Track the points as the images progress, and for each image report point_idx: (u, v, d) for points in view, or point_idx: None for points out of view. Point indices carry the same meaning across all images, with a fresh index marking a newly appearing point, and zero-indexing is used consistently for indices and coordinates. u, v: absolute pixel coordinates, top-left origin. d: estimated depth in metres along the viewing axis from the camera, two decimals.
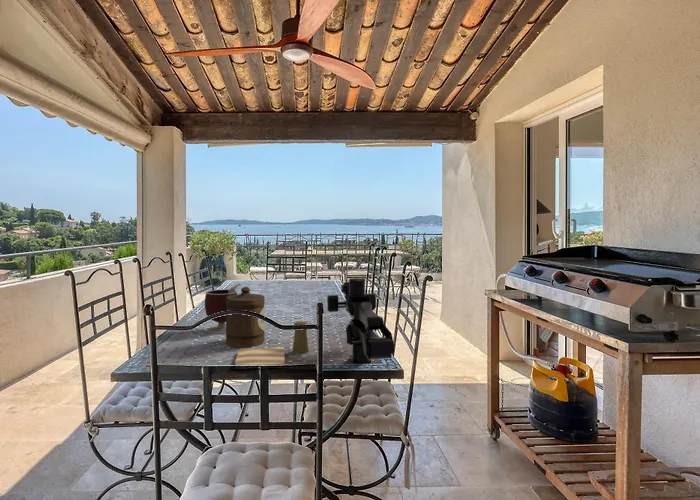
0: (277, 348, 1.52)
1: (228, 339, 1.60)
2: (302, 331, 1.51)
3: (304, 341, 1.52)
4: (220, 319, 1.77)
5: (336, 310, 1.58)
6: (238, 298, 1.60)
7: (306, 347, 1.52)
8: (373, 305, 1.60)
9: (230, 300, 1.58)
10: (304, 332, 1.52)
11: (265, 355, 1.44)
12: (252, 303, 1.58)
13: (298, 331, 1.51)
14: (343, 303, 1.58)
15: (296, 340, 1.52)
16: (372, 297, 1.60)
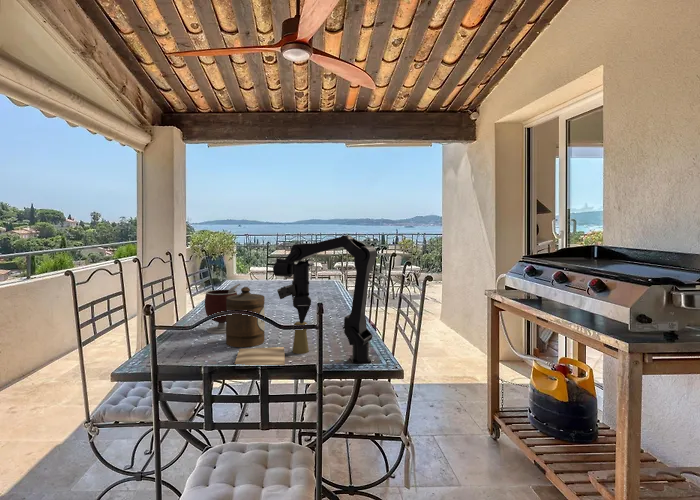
0: (277, 348, 1.52)
1: (228, 339, 1.60)
2: (302, 331, 1.51)
3: (304, 341, 1.52)
4: (220, 319, 1.77)
5: (308, 296, 1.47)
6: (238, 298, 1.60)
7: (306, 347, 1.52)
8: None
9: (230, 300, 1.58)
10: (304, 332, 1.52)
11: (265, 355, 1.44)
12: (252, 303, 1.58)
13: (298, 331, 1.51)
14: (301, 296, 1.49)
15: (296, 340, 1.52)
16: None
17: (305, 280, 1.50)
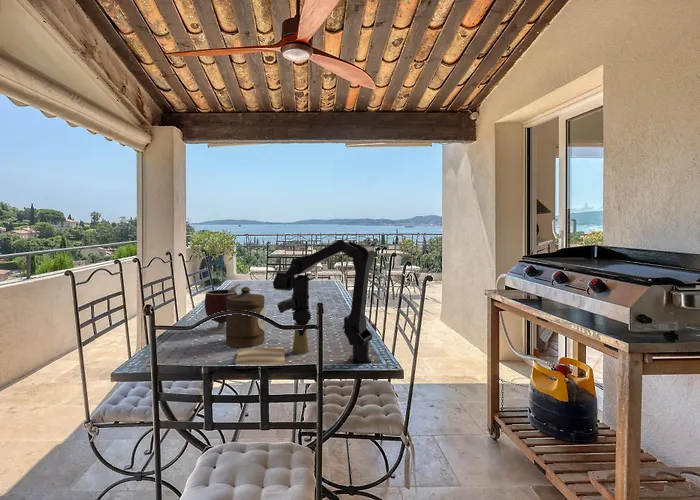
0: (277, 348, 1.52)
1: (228, 339, 1.60)
2: None
3: (304, 341, 1.52)
4: (220, 319, 1.77)
5: (308, 311, 1.47)
6: (238, 298, 1.60)
7: (306, 347, 1.52)
8: None
9: (230, 300, 1.58)
10: (304, 332, 1.52)
11: (265, 355, 1.44)
12: (252, 303, 1.58)
13: (298, 331, 1.51)
14: (301, 310, 1.50)
15: (296, 340, 1.52)
16: None
17: (305, 294, 1.50)
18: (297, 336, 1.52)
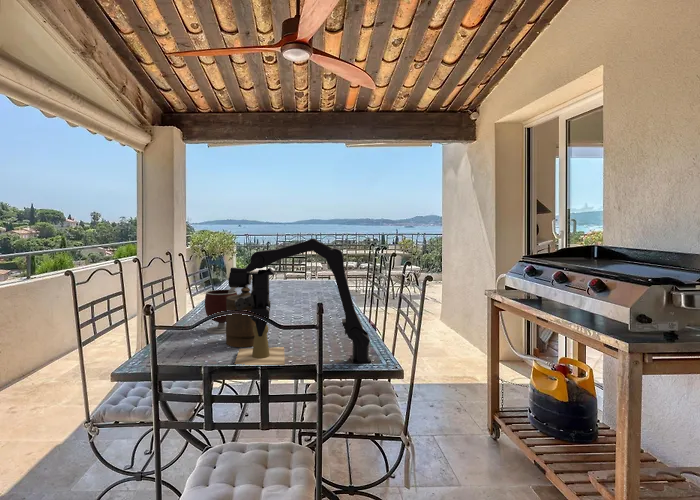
0: (277, 348, 1.52)
1: (228, 339, 1.60)
2: None
3: (264, 344, 1.42)
4: (220, 319, 1.77)
5: (267, 308, 1.37)
6: None
7: (266, 351, 1.42)
8: None
9: (230, 300, 1.58)
10: (264, 335, 1.42)
11: None
12: None
13: (257, 334, 1.41)
14: (260, 307, 1.39)
15: (255, 344, 1.41)
16: None
17: (264, 290, 1.40)
18: (256, 339, 1.41)
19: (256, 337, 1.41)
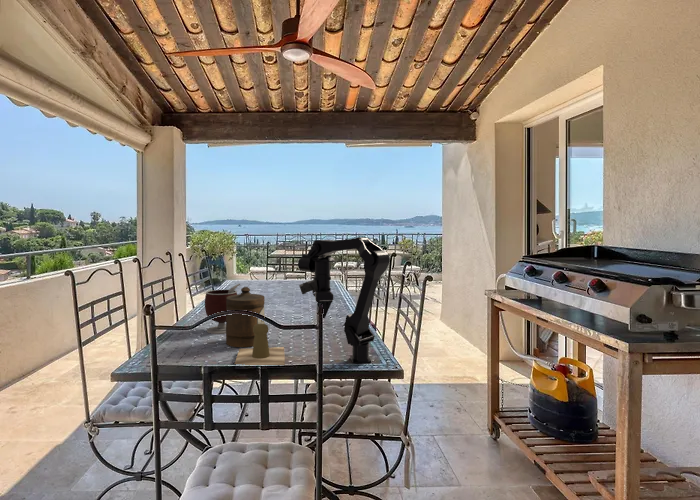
0: (277, 348, 1.52)
1: (228, 339, 1.60)
2: (262, 334, 1.41)
3: (264, 344, 1.42)
4: (220, 319, 1.77)
5: (330, 292, 1.49)
6: (238, 298, 1.60)
7: (266, 351, 1.42)
8: None
9: (230, 300, 1.58)
10: (264, 335, 1.42)
11: None
12: (252, 303, 1.58)
13: (257, 334, 1.41)
14: (323, 291, 1.51)
15: (255, 344, 1.41)
16: None
17: (327, 276, 1.52)
18: (256, 339, 1.41)
19: (256, 337, 1.41)
